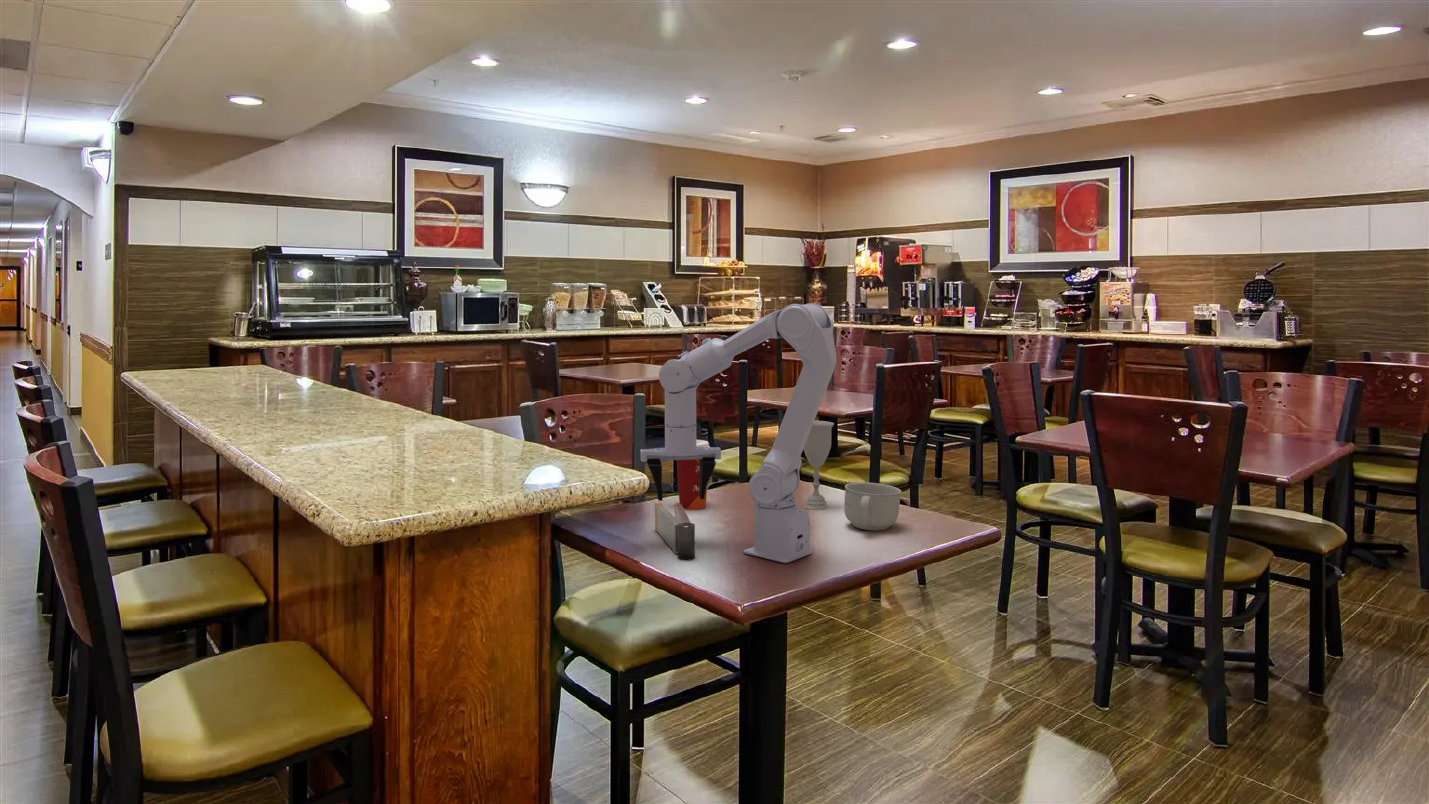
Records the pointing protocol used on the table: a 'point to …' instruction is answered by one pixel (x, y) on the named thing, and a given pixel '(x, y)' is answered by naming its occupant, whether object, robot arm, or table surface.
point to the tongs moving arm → (666, 526)
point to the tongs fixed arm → (685, 534)
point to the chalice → (817, 458)
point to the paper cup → (690, 482)
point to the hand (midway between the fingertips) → (680, 498)
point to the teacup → (871, 505)
